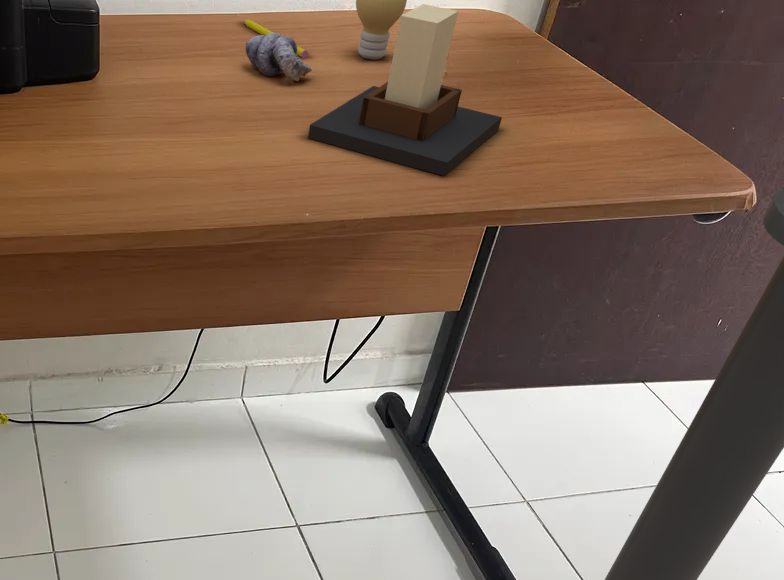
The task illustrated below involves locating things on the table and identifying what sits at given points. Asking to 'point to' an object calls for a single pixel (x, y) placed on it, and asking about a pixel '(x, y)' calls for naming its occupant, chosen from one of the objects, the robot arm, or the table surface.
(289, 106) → the table surface
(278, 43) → the grey knotted piece
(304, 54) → the pencil
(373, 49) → the light bulb
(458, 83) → the table surface
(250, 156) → the table surface
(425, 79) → the cream rectangular block
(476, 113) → the square socket base
